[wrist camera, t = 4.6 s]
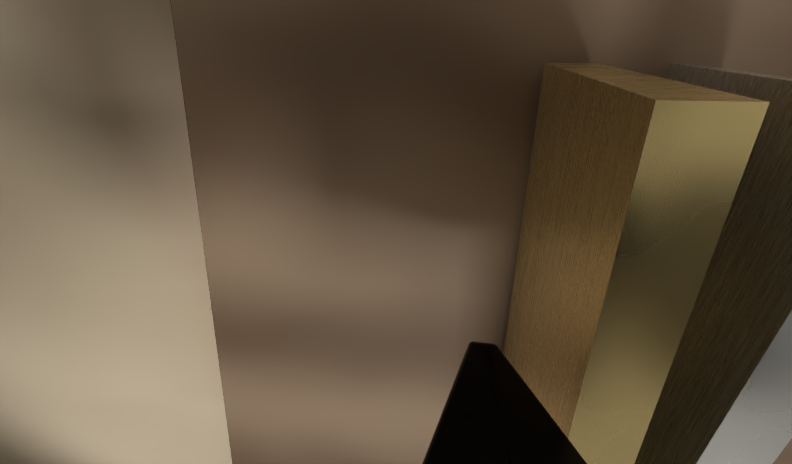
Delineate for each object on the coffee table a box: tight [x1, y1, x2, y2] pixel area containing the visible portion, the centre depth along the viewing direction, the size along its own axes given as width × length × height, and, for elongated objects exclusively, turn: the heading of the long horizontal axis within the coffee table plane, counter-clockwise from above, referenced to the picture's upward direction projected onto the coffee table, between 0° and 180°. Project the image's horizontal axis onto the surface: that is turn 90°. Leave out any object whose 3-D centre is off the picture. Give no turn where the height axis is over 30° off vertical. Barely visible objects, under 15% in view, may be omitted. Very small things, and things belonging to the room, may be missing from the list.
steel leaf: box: [634, 63, 792, 464], centre depth 9 cm, size 15×2×6 cm, turn 175°
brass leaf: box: [503, 63, 770, 464], centre depth 9 cm, size 13×1×5 cm, turn 0°
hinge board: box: [171, 0, 792, 464], centre depth 13 cm, size 22×18×1 cm
